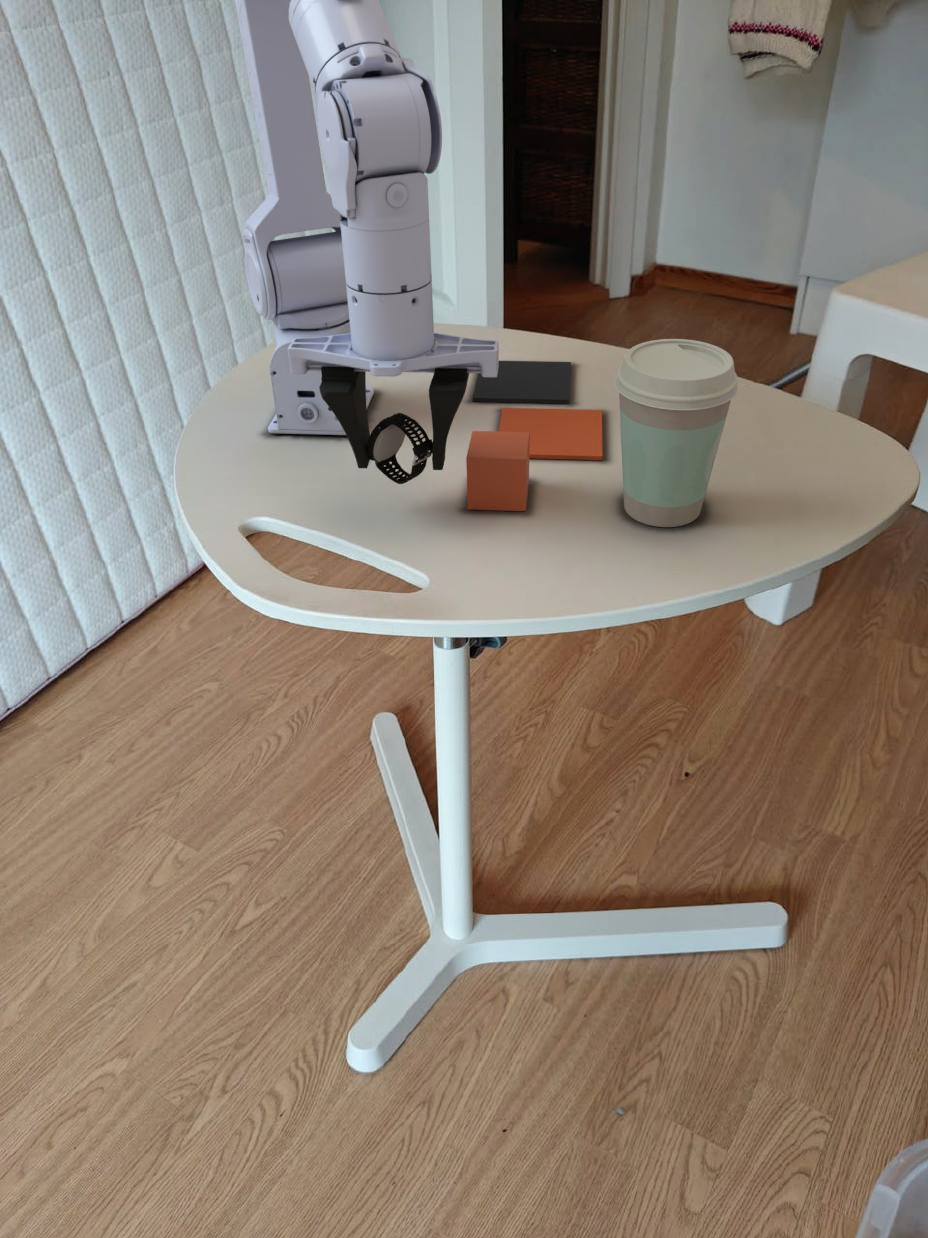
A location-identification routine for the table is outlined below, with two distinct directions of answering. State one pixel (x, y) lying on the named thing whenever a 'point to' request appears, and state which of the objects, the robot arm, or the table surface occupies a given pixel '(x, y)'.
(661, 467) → the coffee cup
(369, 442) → the smartwatch
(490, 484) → the terracotta block
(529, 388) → the dark mat
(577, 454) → the terracotta mat
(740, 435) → the table surface
